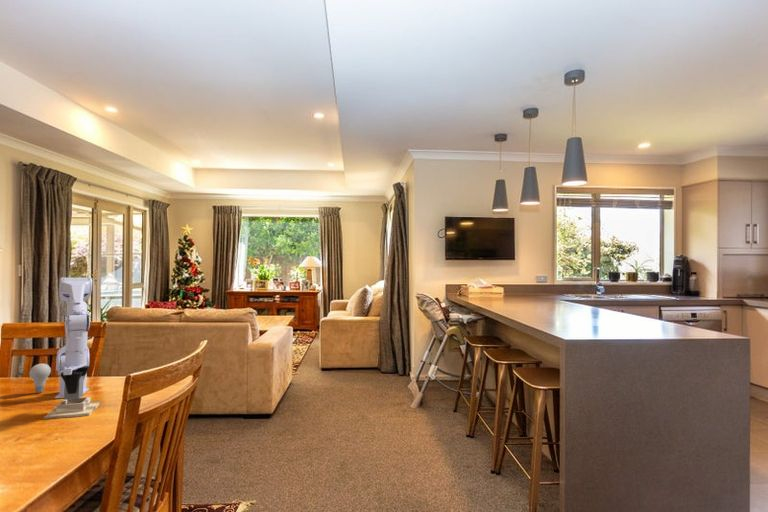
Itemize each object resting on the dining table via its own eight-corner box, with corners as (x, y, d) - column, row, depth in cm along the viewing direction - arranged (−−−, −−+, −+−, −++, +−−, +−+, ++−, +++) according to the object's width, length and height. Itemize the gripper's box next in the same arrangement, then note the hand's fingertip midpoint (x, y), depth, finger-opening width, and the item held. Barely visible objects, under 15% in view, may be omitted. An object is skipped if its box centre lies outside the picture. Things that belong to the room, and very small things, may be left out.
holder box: (59, 406, 137) (59, 397, 137) (100, 403, 141) (101, 394, 141) (43, 419, 125) (44, 409, 125) (89, 415, 130) (89, 405, 130)
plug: (68, 396, 134) (69, 376, 134) (83, 394, 136) (83, 375, 136) (64, 399, 131) (64, 379, 131) (78, 398, 132) (79, 378, 132)
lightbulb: (37, 396, 147) (38, 366, 147) (24, 394, 148) (25, 365, 149) (54, 391, 153) (55, 362, 153) (41, 389, 154) (42, 361, 155)
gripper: (70, 346, 139) (68, 386, 139) (52, 355, 125) (50, 399, 125) (94, 345, 142) (92, 384, 141) (79, 354, 128) (77, 397, 128)
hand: (74, 391), depth 133 cm, fingers closed on plug, 4 cm apart
